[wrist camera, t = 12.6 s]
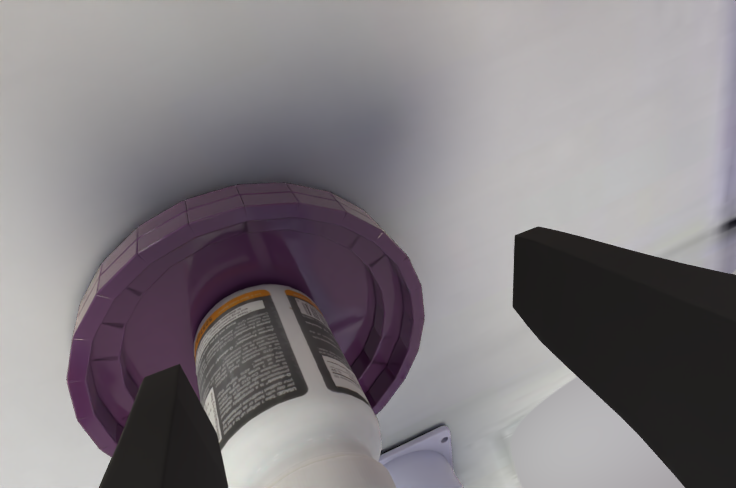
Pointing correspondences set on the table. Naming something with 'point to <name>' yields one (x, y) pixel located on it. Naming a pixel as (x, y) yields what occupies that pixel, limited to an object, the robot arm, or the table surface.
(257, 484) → the pill bottle
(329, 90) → the table surface
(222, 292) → the dish
